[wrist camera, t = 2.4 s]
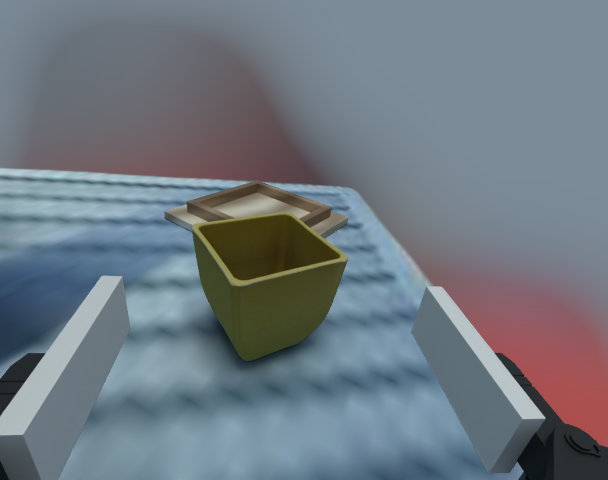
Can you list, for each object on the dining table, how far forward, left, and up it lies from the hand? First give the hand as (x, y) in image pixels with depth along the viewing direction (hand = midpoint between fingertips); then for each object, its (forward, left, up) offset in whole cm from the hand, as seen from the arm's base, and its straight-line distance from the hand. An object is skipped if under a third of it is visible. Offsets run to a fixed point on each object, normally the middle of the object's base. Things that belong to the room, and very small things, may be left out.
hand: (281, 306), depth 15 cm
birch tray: (-21, +25, -11) cm, 34 cm away
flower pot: (-7, +8, -11) cm, 15 cm away
